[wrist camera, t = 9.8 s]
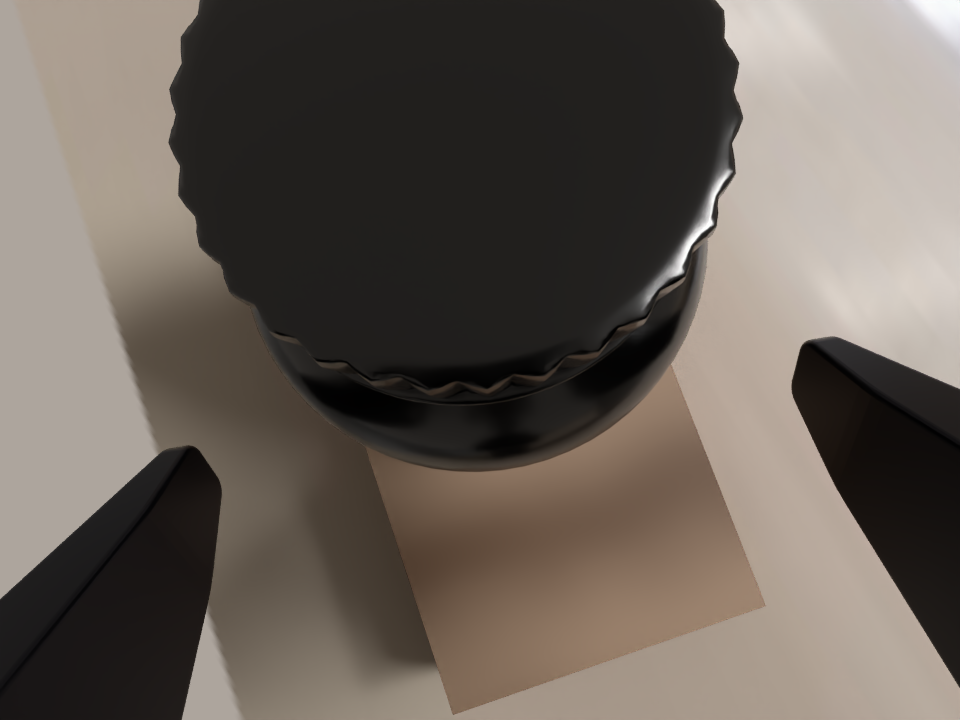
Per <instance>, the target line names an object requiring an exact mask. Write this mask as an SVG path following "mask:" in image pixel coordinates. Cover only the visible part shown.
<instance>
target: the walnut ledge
mask: <svg viewBox="0 0 960 720" xmlns="http://www.w3.org/2000/svg"><path fill="white" fill-rule="evenodd" d="M365 448H366V451H367V454H368V457H369V460H370V463H371V466H372V469H373V472H374V475H375V479H376V482H377V485H378V488H379V491H380V494H381V497H382V500H383V503H384V506H385V509H386V512H387V515H388V518H389V521H390V524H391V527H392V530H393V533H394V536H395V539H396V543H397V546H398V549H399V552H400V555H401V558H402V561H403V564H404V567H405V570H406V573H407V576H408V579H409V582H410V585H411V588H412V591H413V594H414V597H415V600H416V604H417V607H418V610H419V613H420V616H421V619H422V622H423V625H424V628H425V631H426V634H427V637H428V640H429V643H430V646H431V649H432V652H433V655H434V658H435V661H436V664H437V668H438V671H439V674H440V677H441V680H442V683H443V686H444V689H445V692H446V695H447V698H448V701H449V704H450V707H451V710H452V713H453V715H454V714H457V713H460V712H463V711H466V710H468V709H471V708H474V707H477V706H480V705H483V704H486V703H488V702H491V701H494V700H497V699H500V698H503V697H506V696H509V695H511V694H514V693H517V692H520V691H523V690H526V689H529V688H531V687H534V686H537V685H540V684H543V683H546V682H549V681H552V680H554V679H557V678H560V677H563V676H566V675H569V674H572V673H575V672H577V671H580V670H583V669H586V668H589V667H592V666H595V665H597V664H600V663H603V662H606V661H609V660H612V659H615V658H618V657H620V656H623V655H626V654H629V653H632V652H635V651H638V650H641V649H643V648H646V647H649V646H652V645H655V644H658V643H661V642H663V641H666V640H669V639H672V638H675V637H678V636H681V635H684V634H686V633H689V632H692V631H695V630H698V629H701V628H704V627H706V626H709V625H712V624H715V623H718V622H721V621H724V620H727V619H729V618H732V617H735V616H738V615H741V614H744V613H747V612H750V611H752V610H755V609H758V608H761V607H764V606H766V605H765V603H764V600H763V598H762V595H761V592H760V590H759V587H758V585H757V582H756V580H755V577H754V575H753V572H752V570H751V567H750V564H749V562H748V559H747V557H746V554H745V552H744V549H743V547H742V544H741V541H740V539H739V536H738V534H737V531H736V529H735V526H734V524H733V521H732V519H731V516H730V513H729V511H728V508H727V506H726V503H725V501H724V498H723V496H722V493H721V490H720V488H719V485H718V483H717V480H716V478H715V475H714V473H713V470H712V468H711V465H710V462H709V460H708V457H707V455H706V452H705V450H704V447H703V445H702V442H701V439H700V437H699V434H698V432H697V429H696V427H695V424H694V422H693V419H692V417H691V414H690V411H689V409H688V406H687V404H686V401H685V399H684V396H683V394H682V391H681V388H680V386H679V383H678V381H677V378H676V376H675V373H674V371H673V368H672V366H671V365H670V366H669V368H668V369H667V371H666V372H665V373H664V375H663V376H662V378H661V379H660V380H659V382H658V383H657V384H656V385H655V386H654V388H653V389H652V390H651V391H650V392H649V394H648V395H647V396H646V397H645V398H644V399H643V400H642V401H641V402H640V403H639V404H638V405H637V406H636V407H635V408H634V409H633V410H632V411H631V412H630V413H629V414H627V415H626V416H625V417H624V418H622V419H621V420H620V421H619V422H617V423H616V424H615V425H613V426H612V427H611V428H609V429H608V430H606V431H605V432H603V433H602V434H600V435H599V436H597V437H596V438H594V439H592V440H591V441H589V442H587V443H585V444H583V445H581V446H579V447H577V448H575V449H573V450H571V451H569V452H567V453H564V454H561V455H559V456H556V457H554V458H551V459H549V460H545V461H542V462H538V463H535V464H531V465H528V466H523V467H518V468H512V469H506V470H499V471H485V472H457V471H447V470H439V469H431V468H427V467H423V466H418V465H414V464H409V463H406V462H403V461H400V460H397V459H394V458H391V457H388V456H386V455H384V454H381V453H379V452H377V451H375V450H372V449H370V448H368V447H366V446H365Z"/></svg>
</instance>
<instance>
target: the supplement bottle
mask: <svg viewBox="0 0 960 720" xmlns="http://www.w3.org/2000/svg"><path fill="white" fill-rule="evenodd" d="M724 34H725V18H724V10H723V9H722V8H721V6H720V5H719V4H718V3H717V2H716V0H200V3H199V10H198V15H197V16H196V18H195V19H194V21H193V22H192V23H191V24H190V25H189V26H188V28H187V29H186V31H185V32H184V34H183V35H182V36H181V59H182V64H181V66H180V68H179V70H178V72H177V74H176V76H175V78H174V80H173V82H172V84H171V87H170V89H169V90H170V95H171V100H172V104H173V107H174V110H175V113H176V116H175V121H174V125H173V127H172V129H171V134H170V138H169V145H170V147H171V150H172V152H173V154H174V156H175V158H176V160H177V161H178V163H179V165H180V174H179V191H178V195H179V197H180V199H181V200H182V201H183V203H184V204H185V206H186V207H187V208H188V209H189V210H190V211H191V212H192V213H193V214H194V216H195V218H196V224H197V230H196V232H197V237H198V243H199V246H200V248H201V249H202V250H203V251H204V252H205V253H206V254H207V255H208V256H210V257H211V258H212V259H213V260H214V261H215V262H217V263H218V264H220V265H221V267H222V269H223V273H224V279H225V281H226V284H227V287H228V289H229V292H230V293H231V294H232V295H233V296H234V297H235V298H236V299H238V300H240V301H242V302H243V303H245V304H247V305H249V306H250V308H251V311H252V314H253V317H254V319H255V322H256V325H257V328H258V331H259V333H260V335H261V337H262V339H263V341H264V343H265V345H266V348H267V350H268V351H269V353H270V355H271V356H272V358H273V360H274V361H275V363H276V365H277V366H278V368H279V370H280V371H281V372H282V374H283V375H284V376H285V378H286V379H287V380H288V382H289V383H290V384H291V386H292V387H293V388H294V389H295V391H296V392H297V393H298V394H299V395H300V396H301V397H302V398H303V399H304V400H305V401H306V403H307V404H308V405H309V406H310V407H311V408H312V409H314V410H315V411H316V412H317V413H318V414H319V415H320V416H321V417H323V418H324V419H325V420H326V421H327V422H329V423H330V424H331V425H333V426H334V427H335V428H337V429H338V430H340V431H341V432H342V433H344V434H345V435H347V436H348V437H350V438H352V439H354V440H355V441H357V442H359V443H361V444H362V445H364V446H366V447H368V448H370V449H372V450H375V451H377V452H379V453H381V454H384V455H386V456H388V457H391V458H394V459H397V460H400V461H403V462H406V463H409V464H414V465H418V466H423V467H427V468H431V469H439V470H447V471H457V472H485V471H499V470H506V469H512V468H518V467H523V466H528V465H531V464H535V463H538V462H542V461H545V460H549V459H551V458H554V457H556V456H559V455H561V454H564V453H567V452H569V451H571V450H573V449H575V448H577V447H579V446H581V445H583V444H585V443H587V442H589V441H591V440H592V439H594V438H596V437H597V436H599V435H600V434H602V433H603V432H605V431H606V430H608V429H609V428H611V427H612V426H613V425H615V424H616V423H617V422H619V421H620V420H621V419H622V418H624V417H625V416H626V415H627V414H629V413H630V412H631V411H632V410H633V409H634V408H635V407H636V406H637V405H638V404H639V403H640V402H641V401H642V400H643V399H644V398H645V397H646V396H647V395H648V394H649V392H650V391H651V390H652V389H653V388H654V386H655V385H656V384H657V383H658V382H659V380H660V379H661V378H662V376H663V375H664V373H665V372H666V371H667V369H668V368H669V366H670V365H671V363H672V362H673V360H674V359H675V357H676V355H677V353H678V351H679V349H680V347H681V346H682V344H683V342H684V340H685V338H686V336H687V333H688V331H689V328H690V326H691V324H692V321H693V319H694V316H695V313H696V310H697V307H698V303H699V300H700V297H701V293H702V288H703V283H704V278H705V272H706V263H707V251H708V238H709V237H710V236H711V235H712V234H713V233H714V231H715V229H716V226H717V218H718V199H719V198H720V196H721V195H722V194H723V193H724V191H725V190H726V189H727V187H728V186H729V184H730V183H731V181H732V180H733V178H734V176H735V174H736V172H735V159H734V153H733V148H732V142H733V140H734V138H735V137H736V135H737V133H738V131H739V128H740V125H741V123H742V120H743V115H742V112H741V109H740V105H739V103H738V101H737V100H736V96H735V93H734V87H735V83H736V79H737V74H738V68H739V62H738V60H737V58H736V56H735V54H734V52H733V51H732V49H731V48H730V47H729V46H728V44H727V42H726V40H725V38H724Z"/></svg>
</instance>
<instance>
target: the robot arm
mask: <svg viewBox="0 0 960 720" xmlns="http://www.w3.org/2000/svg"><path fill="white" fill-rule="evenodd" d="M792 394H793V398H794V400H795V403H796V405H797V407H798V409H799V411H800V413H801V415H802V417H803V420H804V422H805V424H806V426H807V428H808V430H809V432H810V434H811V437H812V439H813V441H814V443H815V445H816V447H817V449H818V451H819V453H820V456H821V458H822V460H823V462H824V464H825V466H826V468H827V470H828V473H829V475H830V477H831V478H832V480H833V482H834V484H835V486H836V488H837V490H838V492H839V493H840V495H841V497H842V498H843V500H844V502H845V504H846V505H847V507H848V508H849V510H850V512H851V513H852V515H853V516H854V518H855V520H856V521H857V523H858V524H859V526H860V528H861V529H862V531H863V533H864V534H865V536H866V537H867V539H868V541H869V542H870V544H871V545H872V547H873V549H874V550H875V552H876V554H877V555H878V557H879V558H880V560H881V562H882V563H883V565H884V566H885V568H886V570H887V571H888V573H889V575H890V576H891V578H892V579H893V581H894V583H895V584H896V586H897V587H898V589H899V591H900V592H901V594H902V595H903V597H904V599H905V600H906V602H907V604H908V605H909V607H910V608H911V610H912V612H913V613H914V615H915V616H916V618H917V620H918V621H919V623H920V625H921V626H922V628H923V629H924V631H925V633H926V634H927V636H928V637H929V639H930V641H931V642H932V644H933V646H934V647H935V649H936V650H937V652H938V654H939V655H940V657H941V658H942V660H943V662H944V663H945V665H946V667H947V668H948V670H949V671H950V673H951V675H952V676H953V678H954V679H955V681H956V683H957V684H958V686H959V687H960V389H958V388H956V387H953V386H951V385H949V384H946V383H944V382H942V381H939V380H937V379H935V378H932V377H930V376H928V375H925V374H923V373H921V372H918V371H916V370H914V369H911V368H909V367H907V366H904V365H902V364H900V363H897V362H895V361H893V360H890V359H888V358H886V357H883V356H881V355H879V354H876V353H874V352H872V351H869V350H867V349H865V348H862V347H860V346H858V345H855V344H853V343H851V342H848V341H846V340H844V339H841V338H838V337H824V338H818V339H812V340H808V341H806V342H805V343H804V344H803V345H802V346H801V348H800V352H799V356H798V359H797V363H796V367H795V371H794V375H793V379H792ZM221 497H222V490H221V484H220V481H219V479H218V477H217V476H216V474H215V473H214V471H213V470H212V468H211V467H210V466H209V464H208V463H207V461H206V460H205V458H204V457H203V455H202V454H201V452H200V451H199V450H198V449H197V448H196V447H194V446H189V445H188V446H182V447H176V448H170V449H167V450H164V451H162V452H161V453H160V454H159V455H158V456H157V457H155V458H154V459H153V460H152V461H151V462H150V463H149V464H148V465H147V466H146V467H145V468H144V469H142V470H141V471H140V472H139V473H138V474H137V475H136V476H135V477H134V478H133V479H131V480H130V481H129V482H128V483H127V484H126V485H125V486H124V487H123V488H122V489H121V490H119V491H118V492H117V493H116V494H115V495H114V496H113V497H112V498H111V499H110V500H108V501H107V502H106V503H105V504H104V505H103V506H102V507H101V508H100V509H99V510H97V511H96V512H95V513H94V514H93V515H92V516H91V517H90V518H89V519H88V520H87V521H85V522H84V523H83V524H82V525H81V526H80V527H79V528H78V529H77V530H76V531H74V532H73V533H72V534H71V535H70V536H69V537H68V538H67V539H66V540H65V541H64V542H62V544H60V545H59V546H58V547H57V548H56V549H55V550H54V551H53V552H51V553H50V554H49V555H48V556H47V557H46V558H45V559H44V560H43V561H42V562H40V564H38V565H37V566H36V567H35V568H34V569H33V570H32V571H31V572H30V573H28V574H27V575H26V576H25V577H24V578H23V579H22V580H21V581H20V582H19V583H18V584H16V585H15V586H14V587H13V588H12V589H11V590H10V591H9V592H8V593H7V594H5V595H4V596H3V597H2V598H1V599H0V720H182V715H183V711H184V707H185V702H186V698H187V694H188V689H189V684H190V680H191V676H192V671H193V666H194V663H195V658H196V653H197V649H198V645H199V640H200V635H201V631H202V627H203V623H204V618H205V614H206V609H207V605H208V600H209V595H210V590H211V584H212V577H213V569H214V560H215V551H216V542H217V533H218V524H219V515H220V506H221Z"/></svg>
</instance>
